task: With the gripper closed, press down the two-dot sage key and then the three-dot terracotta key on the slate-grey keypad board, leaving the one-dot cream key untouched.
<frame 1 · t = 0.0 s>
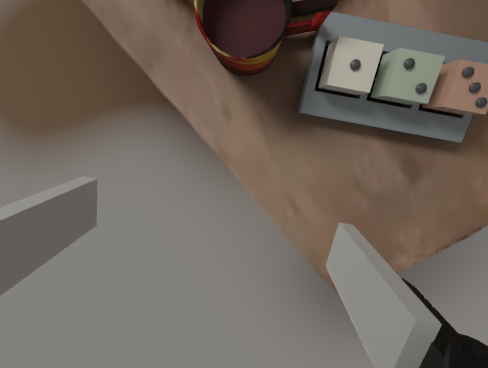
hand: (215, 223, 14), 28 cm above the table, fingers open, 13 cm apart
key three: (461, 89, 33), point 5 cm above the table, slide at 0.0 cm
key one: (348, 67, 33), point 5 cm above the table, slide at 0.0 cm
mug: (258, 30, 36), on the table
keypad board: (387, 82, 37), on the table
key two: (405, 78, 33), point 5 cm above the table, slide at 0.0 cm
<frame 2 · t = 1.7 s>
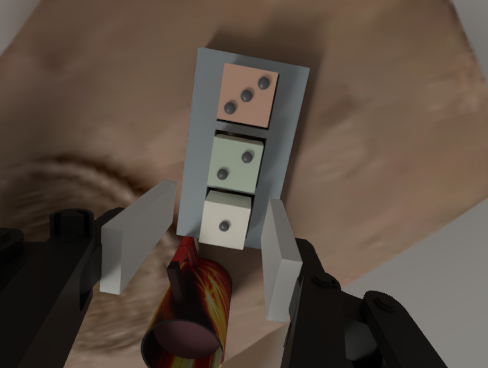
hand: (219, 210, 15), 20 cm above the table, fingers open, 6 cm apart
key three: (246, 97, 28), point 5 cm above the table, slide at 0.0 cm
key one: (225, 219, 32), point 5 cm above the table, slide at 0.0 cm
mug: (194, 274, 40), on the table
keypad board: (237, 156, 34), on the table
key two: (235, 162, 30), point 5 cm above the table, slide at 0.0 cm
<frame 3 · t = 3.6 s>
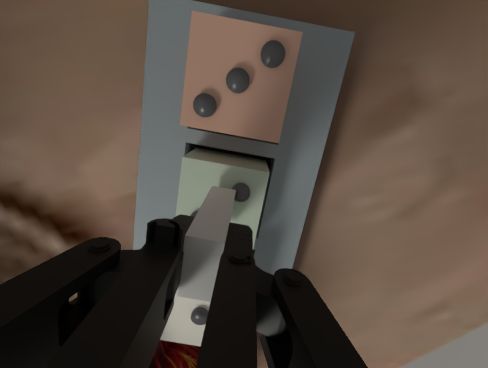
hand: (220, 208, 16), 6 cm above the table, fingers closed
key three: (239, 85, 15), point 5 cm above the table, slide at 0.0 cm
key one: (205, 294, 19), point 5 cm above the table, slide at 0.0 cm
mug: (164, 354, 27), on the table, touching keypad board
keypad board: (226, 184, 21), on the table
key two: (222, 196, 18), point 3 cm above the table, slide at 1.3 cm, touching gripper
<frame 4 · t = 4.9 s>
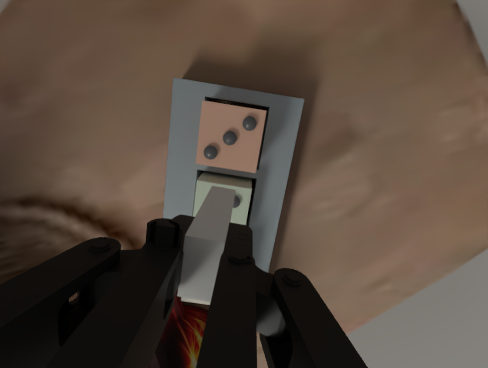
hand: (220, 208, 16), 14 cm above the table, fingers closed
key three: (231, 136, 24), point 5 cm above the table, slide at 0.0 cm
key one: (212, 271, 28), point 5 cm above the table, slide at 0.0 cm
mug: (181, 322, 36), on the table
keypad board: (225, 195, 30), on the table
key two: (222, 203, 27), point 3 cm above the table, slide at 1.6 cm
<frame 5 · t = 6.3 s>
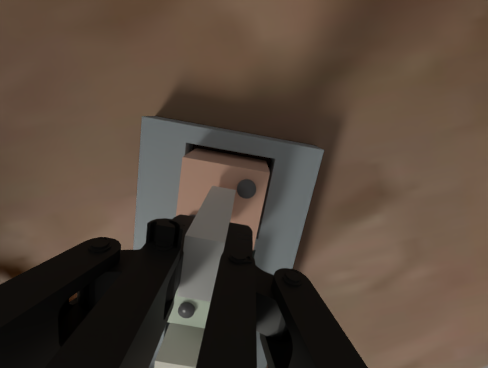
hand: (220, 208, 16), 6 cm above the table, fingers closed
key three: (222, 196, 18), point 3 cm above the table, slide at 1.4 cm, touching gripper
keypad board: (214, 260, 23), on the table
key two: (209, 281, 21), point 3 cm above the table, slide at 1.6 cm
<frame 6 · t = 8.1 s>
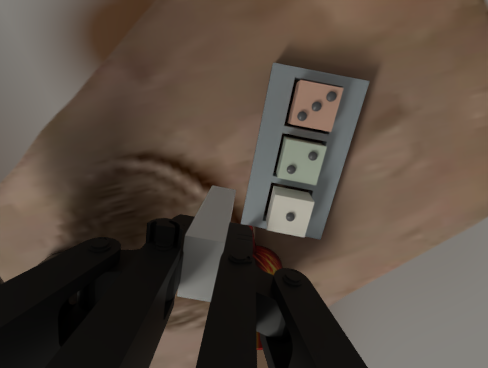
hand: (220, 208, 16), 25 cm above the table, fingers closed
key three: (313, 106, 34), point 3 cm above the table, slide at 1.6 cm
key one: (288, 211, 37), point 5 cm above the table, slide at 0.0 cm
mug: (249, 259, 45), on the table
keypad board: (296, 156, 39), on the table
key two: (299, 159, 36), point 3 cm above the table, slide at 1.6 cm
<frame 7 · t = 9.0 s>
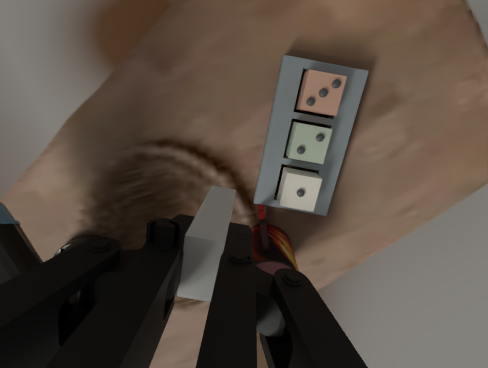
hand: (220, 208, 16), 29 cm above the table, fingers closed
key three: (319, 93, 38), point 3 cm above the table, slide at 1.6 cm
key one: (298, 189, 41), point 5 cm above the table, slide at 0.0 cm
mug: (260, 238, 49), on the table
keypad board: (303, 140, 43), on the table
key two: (307, 142, 41), point 3 cm above the table, slide at 1.6 cm
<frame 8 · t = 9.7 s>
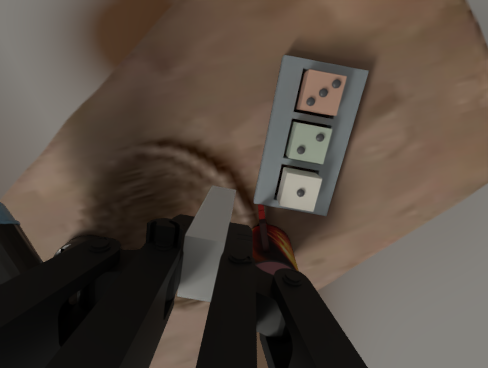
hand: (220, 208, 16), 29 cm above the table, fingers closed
key three: (319, 93, 38), point 3 cm above the table, slide at 1.6 cm
key one: (298, 189, 41), point 5 cm above the table, slide at 0.0 cm
mug: (260, 238, 49), on the table
keypad board: (303, 140, 43), on the table
key two: (307, 142, 41), point 3 cm above the table, slide at 1.6 cm
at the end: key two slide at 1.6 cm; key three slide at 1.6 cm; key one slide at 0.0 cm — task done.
